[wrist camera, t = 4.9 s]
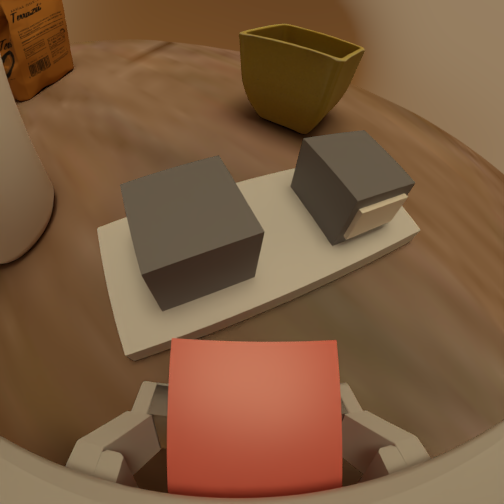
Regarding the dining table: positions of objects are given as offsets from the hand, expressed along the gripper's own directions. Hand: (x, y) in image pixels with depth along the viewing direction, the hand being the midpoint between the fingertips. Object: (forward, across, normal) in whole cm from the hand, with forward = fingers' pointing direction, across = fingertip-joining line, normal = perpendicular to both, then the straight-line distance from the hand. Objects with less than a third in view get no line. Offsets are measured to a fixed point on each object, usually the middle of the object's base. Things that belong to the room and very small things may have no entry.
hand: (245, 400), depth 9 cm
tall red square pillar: (+3, 0, +4) cm, 4 cm away
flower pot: (+21, -5, -14) cm, 26 cm away
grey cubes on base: (+10, -2, -4) cm, 11 cm away
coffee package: (+32, +36, -26) cm, 55 cm away
